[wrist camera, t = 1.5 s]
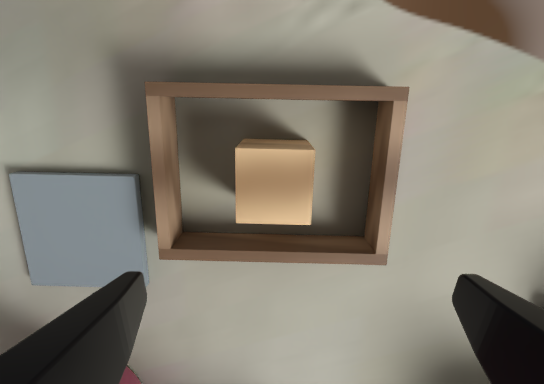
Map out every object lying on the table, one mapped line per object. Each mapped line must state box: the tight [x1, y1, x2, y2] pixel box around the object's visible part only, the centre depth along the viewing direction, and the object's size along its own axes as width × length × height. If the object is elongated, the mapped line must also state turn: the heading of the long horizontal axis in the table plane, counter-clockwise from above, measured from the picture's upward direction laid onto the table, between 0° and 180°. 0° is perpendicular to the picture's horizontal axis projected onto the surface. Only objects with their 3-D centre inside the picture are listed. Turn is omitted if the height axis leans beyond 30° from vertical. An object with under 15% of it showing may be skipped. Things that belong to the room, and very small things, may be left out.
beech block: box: [235, 139, 315, 225], centre depth 21 cm, size 4×4×5 cm
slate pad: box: [9, 172, 149, 287], centre depth 24 cm, size 9×9×1 cm
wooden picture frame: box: [145, 82, 409, 265], centre depth 22 cm, size 12×16×3 cm
